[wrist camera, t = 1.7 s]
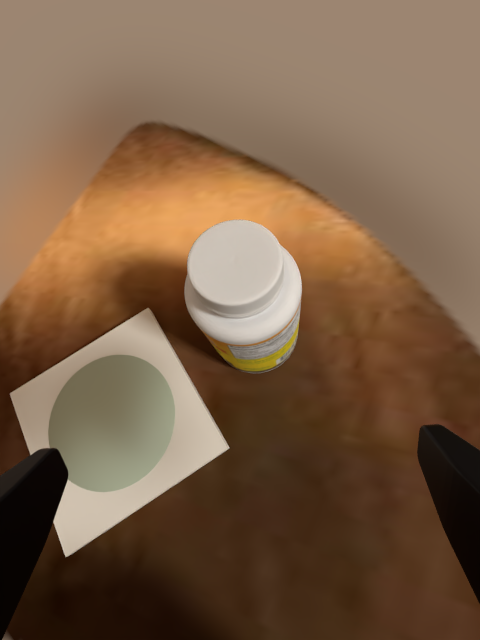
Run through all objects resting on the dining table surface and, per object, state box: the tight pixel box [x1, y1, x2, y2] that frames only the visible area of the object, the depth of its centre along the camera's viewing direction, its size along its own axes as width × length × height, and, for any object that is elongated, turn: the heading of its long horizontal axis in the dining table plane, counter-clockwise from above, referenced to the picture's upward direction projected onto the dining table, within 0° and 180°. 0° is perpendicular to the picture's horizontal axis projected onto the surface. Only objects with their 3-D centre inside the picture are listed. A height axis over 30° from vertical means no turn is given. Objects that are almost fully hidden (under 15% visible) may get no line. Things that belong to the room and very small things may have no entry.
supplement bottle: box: [184, 220, 302, 373], centre depth 19 cm, size 6×6×10 cm
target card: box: [10, 308, 230, 557], centre depth 22 cm, size 11×11×1 cm
